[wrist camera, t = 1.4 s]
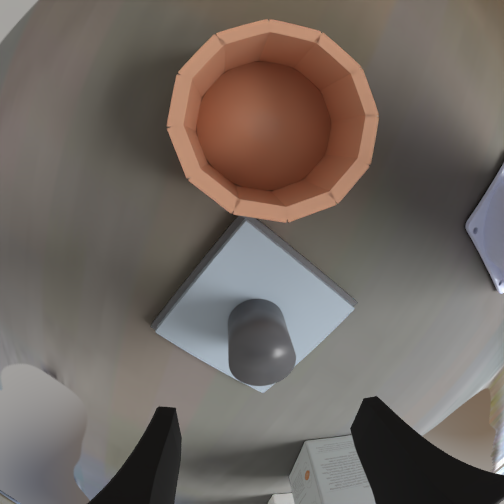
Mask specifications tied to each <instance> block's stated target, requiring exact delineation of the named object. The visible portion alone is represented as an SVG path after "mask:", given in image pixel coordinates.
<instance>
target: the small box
mask: <svg viewBox="0 0 504 504" xmlns="http://www.w3.org/2000/svg"><path fill="white" fill-rule="evenodd" d="M289 480H290V485H291V489H292V494H293V499H294V503H295V504H376V503H375V499H374V495H373V492H372V489H371V487H370V484H369V482H368V479H367V477H366V474H365V472H364V469H363V467H362V465H361V462H360V460H359V457H358V455H357V452H356V449H355V446H354V442H353V438H352V435H347V436H341V437H333V438H324V439H316V440H307V441H305V442H304V444H303V447H302V449H301V451H300V453H299V456H298V458H297V460H296V462H295V465H294V467H293V469H292V471H291V473H290V476H289Z"/></svg>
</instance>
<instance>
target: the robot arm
mask: <svg viewBox="0 0 504 504" xmlns="http://www.w3.org/2000/svg"><path fill="white" fill-rule="evenodd" d="M466 230H467V232H468V234H469V236H470V237H471V239H472V241H473V243H474V245H475V246H476V248H477V250H478V252H479V254H480V256H481V258H482V260H483V262H484V264H485V266H486V268H487V270H488V272H489V274H490V276H491V278H492V280H493V282H494V285H495V287H496V289H497V291H498V292H499V293H500V294H502V293H503V292H504V163H503V165H502V166H501V168H500V170H499V172H498V173H497V175H496V177H495V178H494V180H493V182H492V183H491V185H490V187H489V188H488V190H487V192H486V193H485V195H484V196H483V198H482V199H481V201H480V202H479V204H478V206H477V207H476V209H475V210H474V212H473V213H472V214H471V216H470V217H469V219H468V220H467V222H466ZM473 230H474V231H473ZM350 429H351V433H352V438H353V442H354V446H355V449H356V452H357V455H358V457H359V460H360V462H361V465H362V467H363V469H364V472H365V474H366V477H367V479H368V482H369V484H370V487H371V489H372V492H373V495H374V499H375V503H376V504H499V503H500V502H501V501H503V500H504V475H500V474H495V473H491V472H488V471H484V470H481V469H478V468H476V467H473V466H471V465H468V464H466V463H464V462H462V461H460V460H458V459H455V458H454V457H452V456H450V455H448V454H447V453H445V452H444V451H442V450H440V449H439V448H437V447H436V446H434V445H433V444H431V443H430V442H429V441H427V440H426V439H425V438H423V437H422V436H421V435H420V434H418V433H417V432H416V431H415V430H413V429H412V428H411V427H410V426H409V425H408V424H406V423H405V422H404V421H403V420H402V419H401V418H400V417H399V416H398V415H397V414H395V413H394V412H393V411H392V410H391V409H390V408H389V407H388V406H387V405H386V404H385V403H384V402H383V401H381V400H380V399H379V398H378V397H377V396H375V397H370V398H364V399H363V401H362V404H361V406H360V408H359V411H358V413H357V415H356V417H355V420H354V422H353V424H352V426H351V428H350ZM181 439H182V438H181V433H180V428H179V423H178V418H177V413H176V408H171V407H158V408H157V409H156V411H155V413H154V416H153V418H152V420H151V422H150V423H149V425H148V427H147V429H146V431H145V432H144V434H143V436H142V438H141V439H140V441H139V442H138V444H137V446H136V447H135V449H134V450H133V452H132V453H131V455H130V456H129V457H128V459H127V460H126V462H125V463H124V464H123V466H122V467H121V468H120V470H119V471H118V472H117V473H116V475H115V476H114V477H113V478H112V479H111V481H110V482H109V483H108V484H107V485H106V486H105V487H104V488H103V489H102V490H101V491H100V492H99V493H98V494H97V495H96V496H95V497H94V498H93V499H92V500H91V501H90V502H89V503H88V504H174V500H175V493H176V487H177V480H178V474H179V468H180V461H181Z"/></svg>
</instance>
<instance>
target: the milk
mask: <svg viewBox="0 0 504 504" xmlns="http://www.w3.org/2000/svg"><path fill="white" fill-rule="evenodd" d="M268 504H295V503H294V499H293V494H292V493H286V494H273V495H272V497H271V498H270V500H269V502H268Z"/></svg>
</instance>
